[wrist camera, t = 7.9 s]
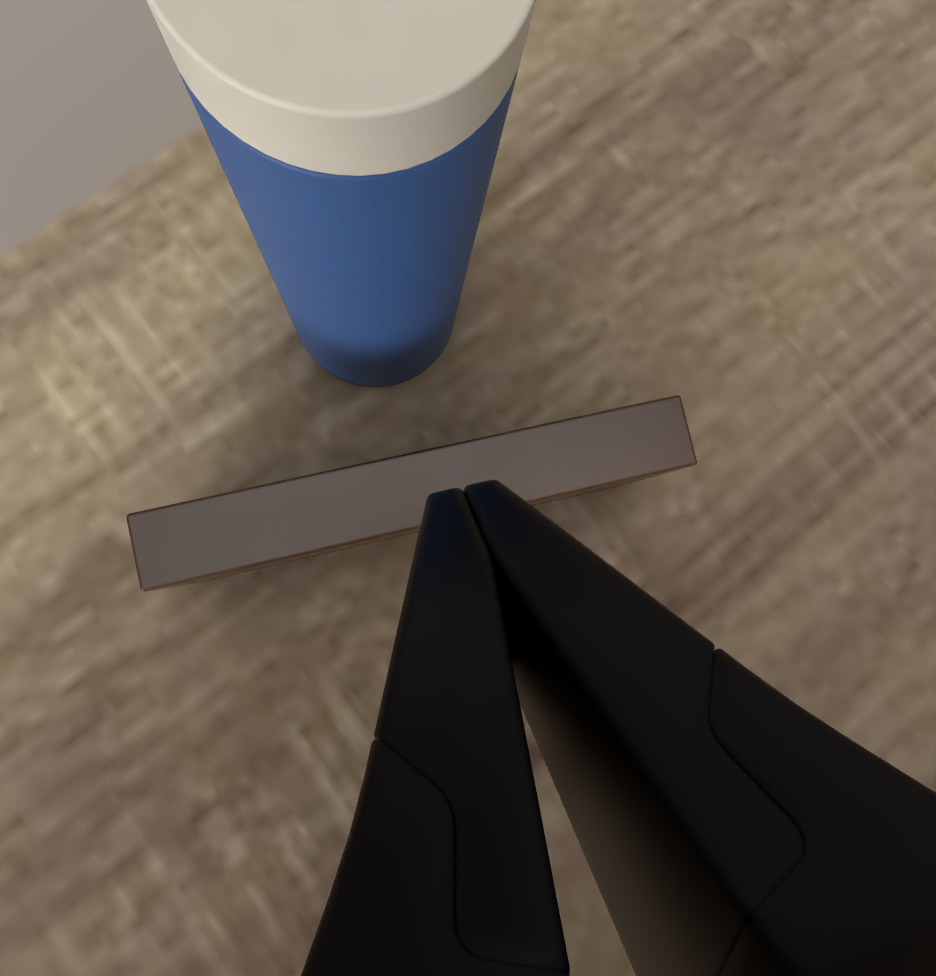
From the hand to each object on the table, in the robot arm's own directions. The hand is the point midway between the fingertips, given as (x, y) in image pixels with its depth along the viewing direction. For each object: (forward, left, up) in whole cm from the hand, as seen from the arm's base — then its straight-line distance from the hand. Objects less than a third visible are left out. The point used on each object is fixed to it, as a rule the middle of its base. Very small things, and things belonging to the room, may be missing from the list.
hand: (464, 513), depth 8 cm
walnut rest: (+1, +1, -11) cm, 11 cm away
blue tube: (+2, +2, -10) cm, 11 cm away
